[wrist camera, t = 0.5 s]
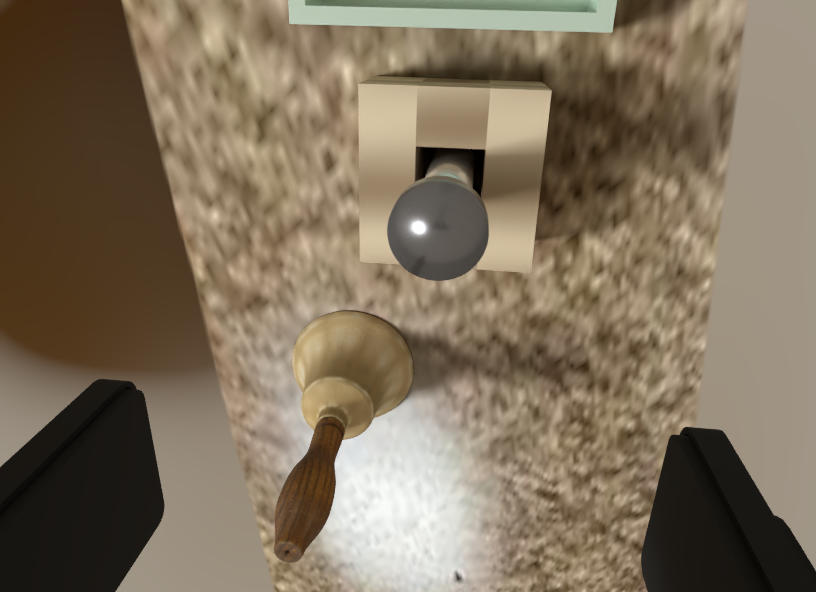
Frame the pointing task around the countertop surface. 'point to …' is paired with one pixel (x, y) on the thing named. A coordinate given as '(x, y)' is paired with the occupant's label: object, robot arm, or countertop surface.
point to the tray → (460, 14)
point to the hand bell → (336, 411)
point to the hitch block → (454, 128)
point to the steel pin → (440, 219)
